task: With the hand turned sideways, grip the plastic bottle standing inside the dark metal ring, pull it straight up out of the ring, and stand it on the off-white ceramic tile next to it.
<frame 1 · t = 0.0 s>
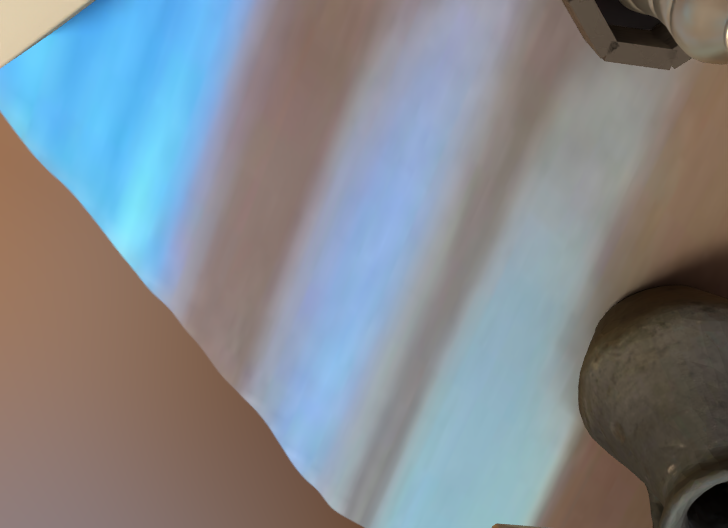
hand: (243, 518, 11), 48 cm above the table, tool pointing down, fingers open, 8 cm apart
dark grey clay pot: (652, 329, 71), on the table
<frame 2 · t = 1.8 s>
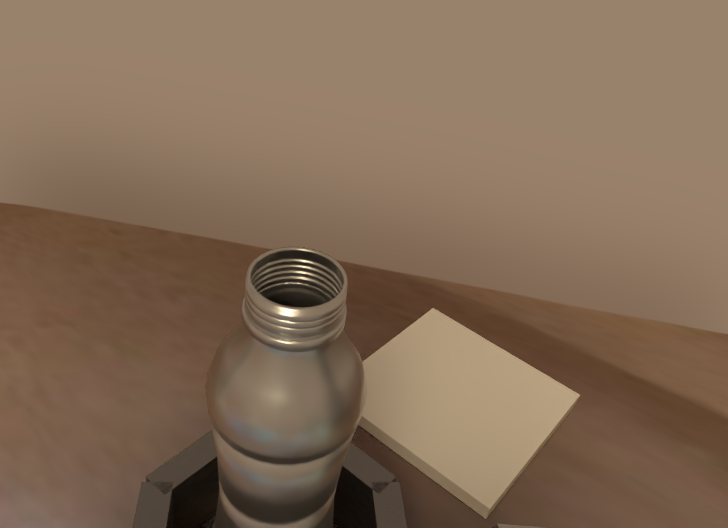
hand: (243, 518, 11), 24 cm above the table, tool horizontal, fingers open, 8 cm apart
ceramic tile: (453, 402, 47), on the table
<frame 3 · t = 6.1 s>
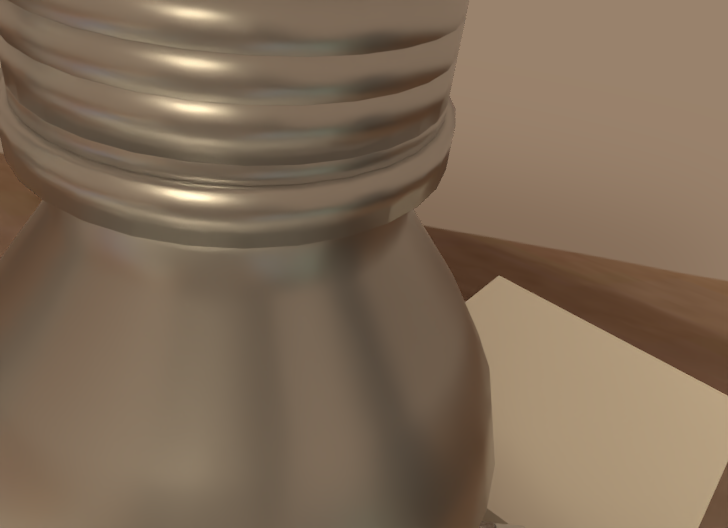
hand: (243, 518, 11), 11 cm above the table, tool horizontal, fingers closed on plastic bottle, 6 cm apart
ceramic tile: (549, 421, 28), on the table
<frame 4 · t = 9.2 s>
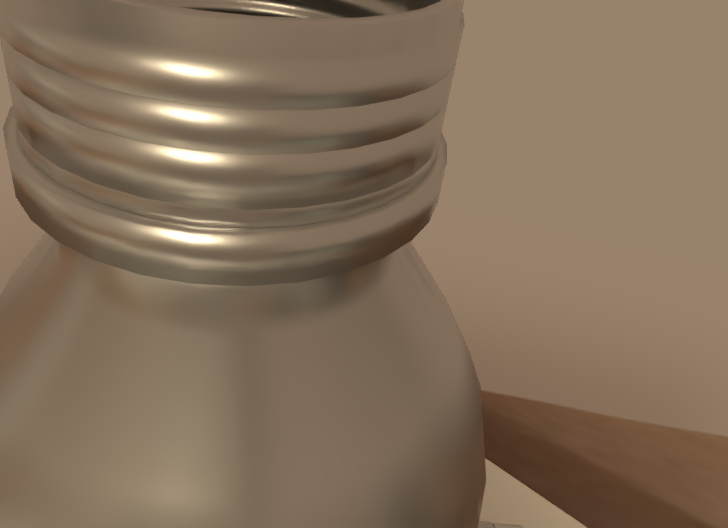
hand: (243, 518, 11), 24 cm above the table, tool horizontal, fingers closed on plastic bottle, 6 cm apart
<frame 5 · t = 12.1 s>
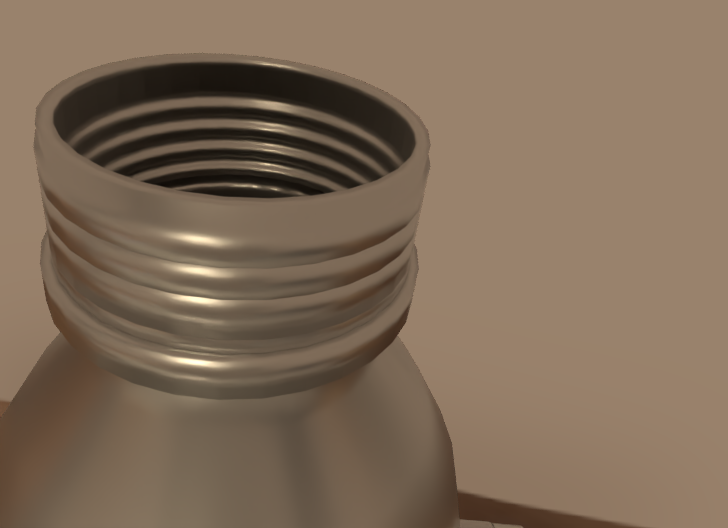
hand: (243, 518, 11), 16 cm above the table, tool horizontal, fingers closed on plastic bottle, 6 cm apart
when the fingers open (14 cm above the table, at t = 13.5 s): plastic bottle stays where it is, resting on ceramic tile.
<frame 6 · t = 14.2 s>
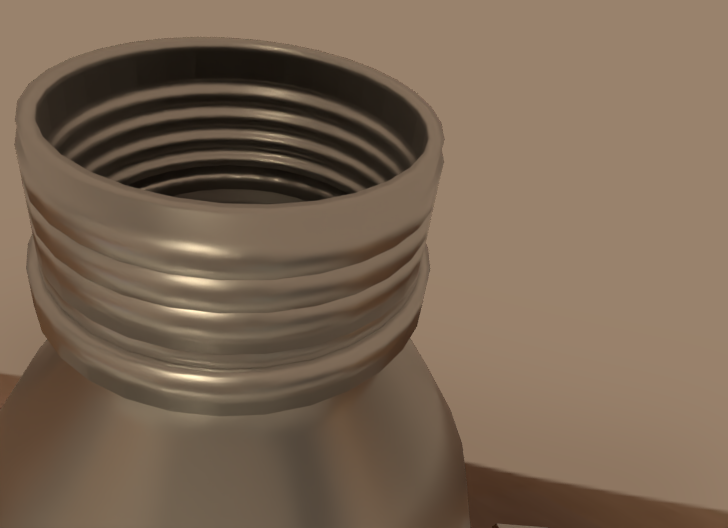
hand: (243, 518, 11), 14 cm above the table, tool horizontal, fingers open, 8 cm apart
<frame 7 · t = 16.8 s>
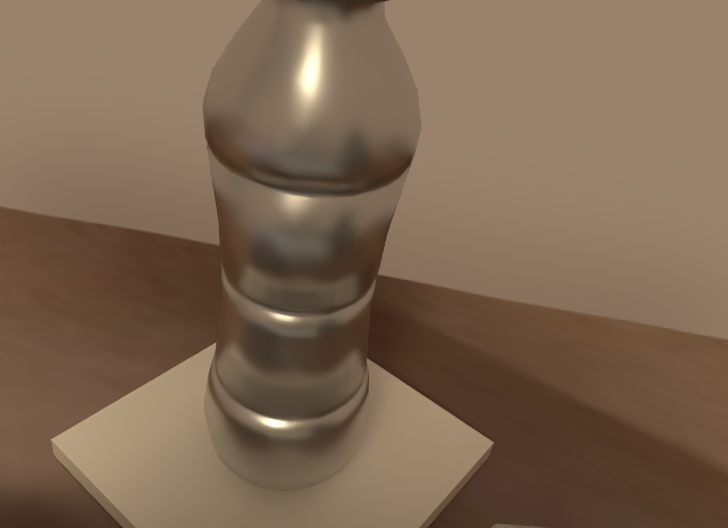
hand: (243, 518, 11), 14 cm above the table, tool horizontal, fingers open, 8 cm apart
plastic bottle: (283, 446, 28), point 1 cm above the table, touching ceramic tile
ceramic tile: (282, 456, 28), on the table
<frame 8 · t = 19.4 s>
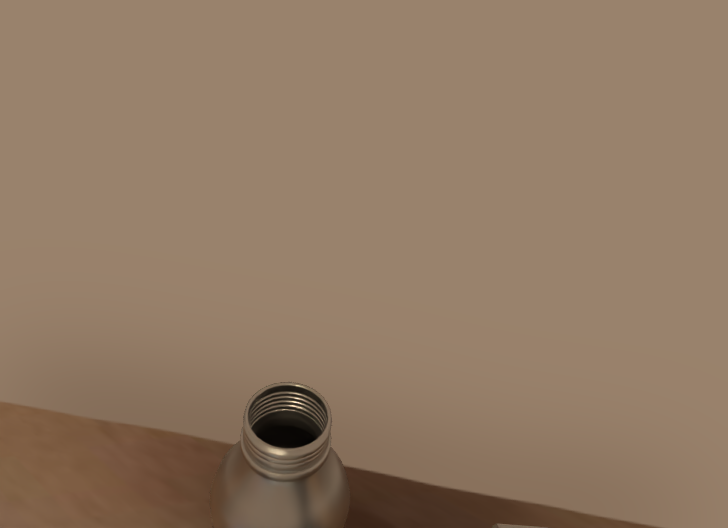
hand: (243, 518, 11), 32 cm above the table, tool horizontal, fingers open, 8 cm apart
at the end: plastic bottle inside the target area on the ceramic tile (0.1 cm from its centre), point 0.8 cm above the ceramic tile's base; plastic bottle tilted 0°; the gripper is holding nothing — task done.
